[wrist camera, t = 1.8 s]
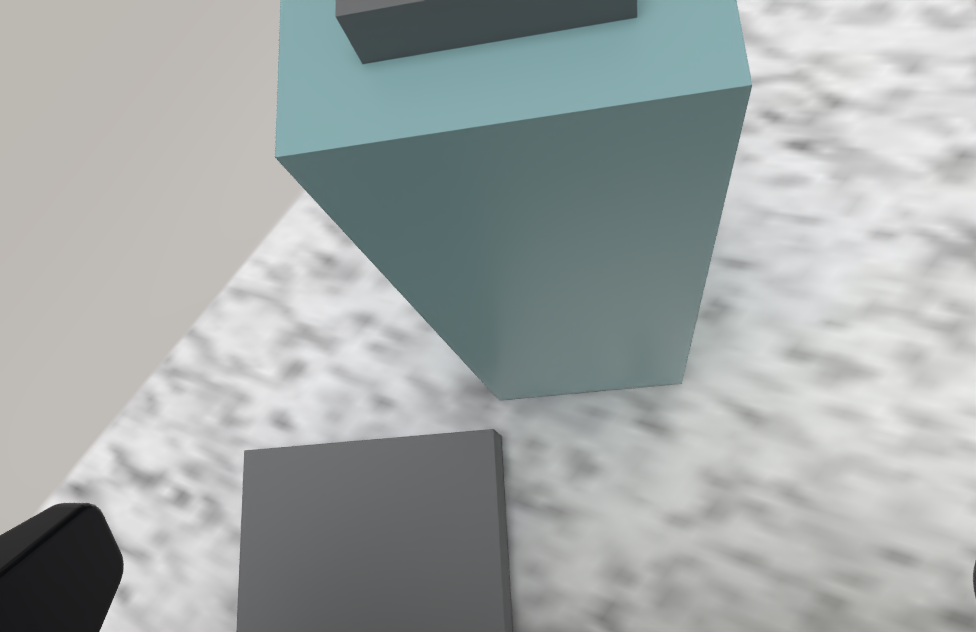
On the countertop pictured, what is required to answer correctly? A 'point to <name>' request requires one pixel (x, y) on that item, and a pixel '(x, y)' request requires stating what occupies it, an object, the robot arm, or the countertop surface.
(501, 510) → the foam pad
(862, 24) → the countertop surface
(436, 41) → the module
